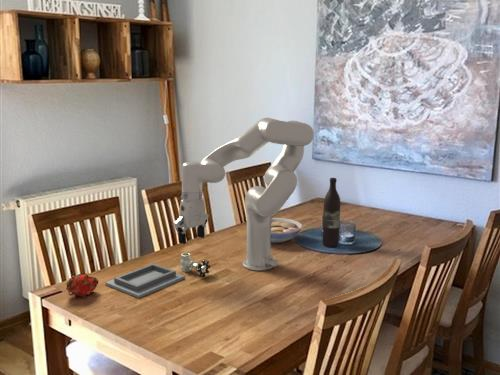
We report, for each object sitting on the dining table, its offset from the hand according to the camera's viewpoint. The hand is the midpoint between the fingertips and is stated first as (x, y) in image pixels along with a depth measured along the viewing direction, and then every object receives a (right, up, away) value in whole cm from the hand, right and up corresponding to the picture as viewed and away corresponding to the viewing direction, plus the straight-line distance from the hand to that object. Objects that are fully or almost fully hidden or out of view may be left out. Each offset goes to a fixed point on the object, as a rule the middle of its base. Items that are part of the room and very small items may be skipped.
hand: (191, 240), depth 203 cm
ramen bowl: (+34, -4, +41) cm, 53 cm away
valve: (0, -13, +4) cm, 14 cm away
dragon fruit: (-36, -17, -16) cm, 43 cm away
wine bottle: (+57, -6, +36) cm, 68 cm away
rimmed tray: (-16, -15, -5) cm, 22 cm away
